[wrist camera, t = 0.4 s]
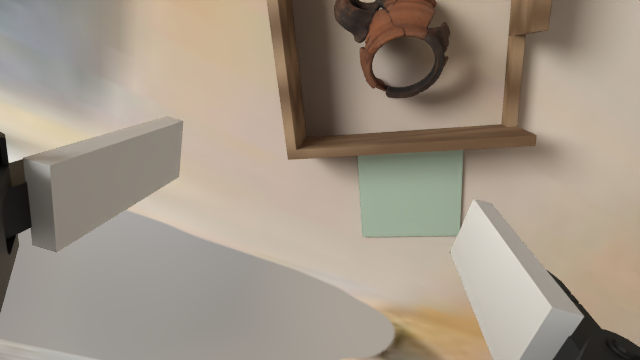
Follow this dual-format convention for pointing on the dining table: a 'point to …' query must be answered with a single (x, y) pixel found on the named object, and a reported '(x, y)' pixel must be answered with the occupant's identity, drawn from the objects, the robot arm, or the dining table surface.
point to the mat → (411, 193)
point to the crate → (525, 18)
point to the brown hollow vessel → (393, 35)
